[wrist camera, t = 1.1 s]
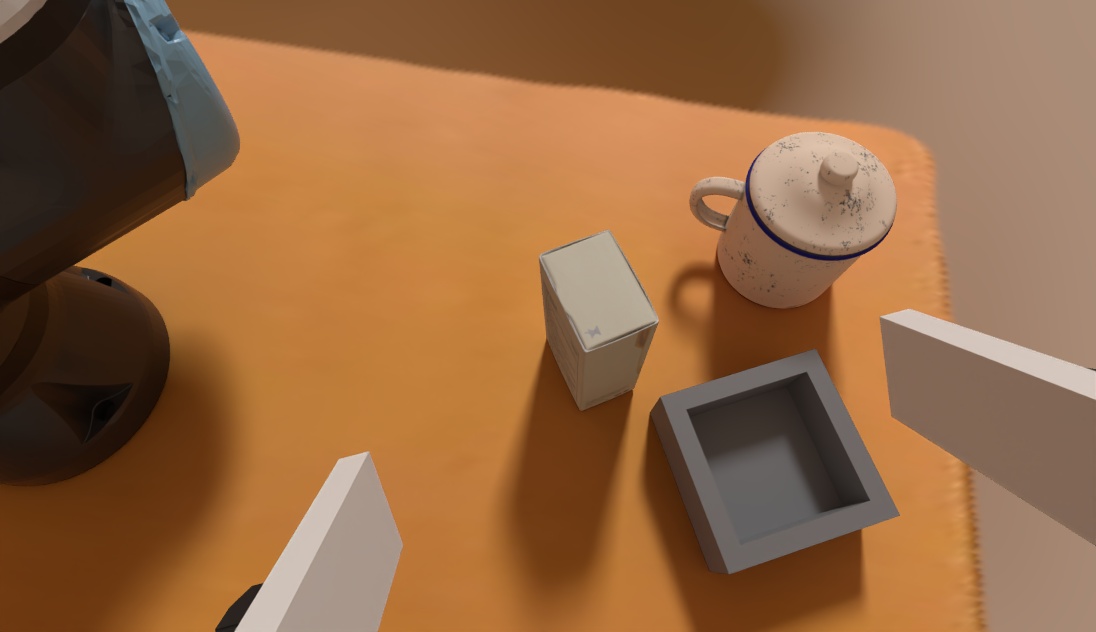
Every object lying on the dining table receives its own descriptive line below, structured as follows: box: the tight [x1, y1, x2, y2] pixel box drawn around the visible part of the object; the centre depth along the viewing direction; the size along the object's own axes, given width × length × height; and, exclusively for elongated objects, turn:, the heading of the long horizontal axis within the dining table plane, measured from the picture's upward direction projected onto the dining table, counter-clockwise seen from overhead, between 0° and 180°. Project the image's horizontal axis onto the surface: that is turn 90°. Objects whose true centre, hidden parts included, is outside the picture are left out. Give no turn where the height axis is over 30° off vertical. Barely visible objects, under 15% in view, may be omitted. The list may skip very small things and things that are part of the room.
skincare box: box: [539, 230, 659, 411], centre depth 36 cm, size 6×4×12 cm
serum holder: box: [650, 349, 900, 574], centre depth 37 cm, size 10×10×4 cm
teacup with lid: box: [690, 132, 897, 308], centre depth 39 cm, size 12×9×12 cm
